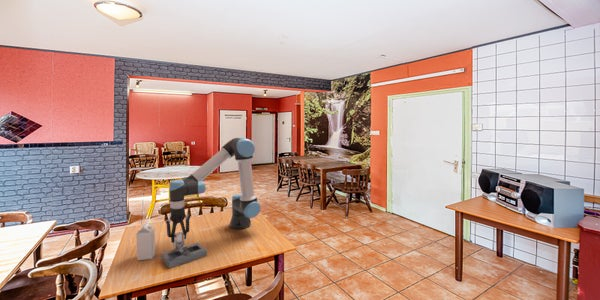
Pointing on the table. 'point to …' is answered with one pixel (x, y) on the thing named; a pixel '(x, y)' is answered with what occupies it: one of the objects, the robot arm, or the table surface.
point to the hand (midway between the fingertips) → (179, 246)
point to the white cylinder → (179, 240)
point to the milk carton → (145, 242)
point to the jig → (183, 255)
